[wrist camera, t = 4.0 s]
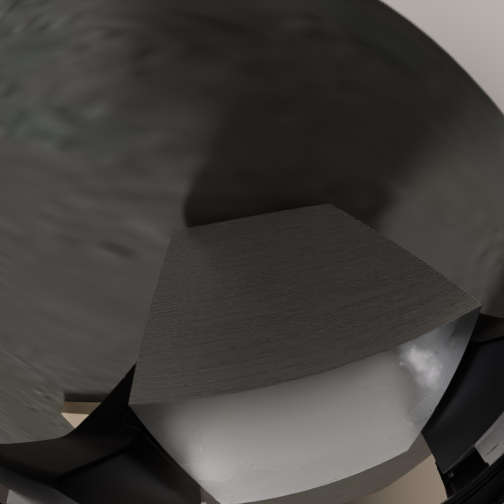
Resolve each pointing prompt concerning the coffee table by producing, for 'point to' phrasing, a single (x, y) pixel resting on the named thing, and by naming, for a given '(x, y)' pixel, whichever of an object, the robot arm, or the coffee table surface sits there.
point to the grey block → (294, 351)
